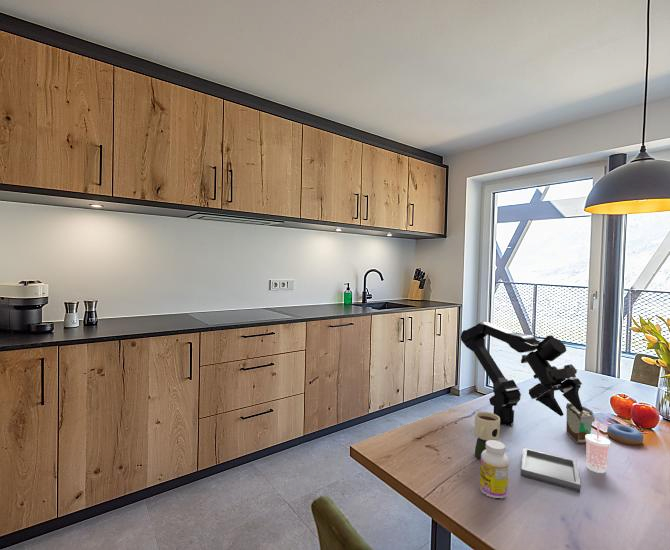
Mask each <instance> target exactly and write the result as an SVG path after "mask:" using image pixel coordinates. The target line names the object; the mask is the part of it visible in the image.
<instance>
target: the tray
mask: <svg viewBox="0 0 670 550" xmlns="http://www.w3.org/2000/svg"><path fill="white" fill-rule="evenodd" d="M522 450H523V451H522V458H521V459H522V461H521V468H520V469H521V470H520V476H521V477H523V478H527V479H531V480H535V481H538V482H541V483H545V484H548V485H552V486H557V487H560V488H563V489H566V490H571V491H574V492H578V493H581V488H582V487H581V480H580V473H579V467H578V460H576V459H574V458H569V457H565V456H560V455H558V454H552V453H548V452H543V451H541V450H536V449H531V448H528V447H523V449H522Z"/></svg>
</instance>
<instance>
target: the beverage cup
mask: <svg viewBox="0 0 670 550" xmlns="http://www.w3.org/2000/svg"><path fill="white" fill-rule="evenodd" d="M600 427H601V426H600V421H597V429H596V434H593V433H590V434H587V435H585V439H586V444H585V445H586V446H585V447H586V449H585V450H586V451H585V453H586V459H585V460H586V468H587V469H588V470H590V471H592V472H594V473H598V474H605V473H606V471H607V464H608V463H607V462H608V456H609V449H610V446H611V440H610V439H608V438H606V437H605V436H602V435H600Z"/></svg>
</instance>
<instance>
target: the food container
mask: <svg viewBox="0 0 670 550" xmlns="http://www.w3.org/2000/svg"><path fill="white" fill-rule="evenodd" d="M565 408H566V431H565V432H566V433H567V434H568V435H569V436H570V437H571V439H573V441H574V442H575V443H576V444H577V445H586V439H585V435H587V434H592V432H591V431H592V425H593V423H594V422H595V421H596V418H595V414H594V412H593V411H592V410H591V409H589V408H587V407H585V406H583V405H582V408H583V411H581V412H580V411H579V410H577V409H576V408H575V407H574V406H573V405H572V404H571V403H570V402H568V403H567V402H566V406H565Z"/></svg>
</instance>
